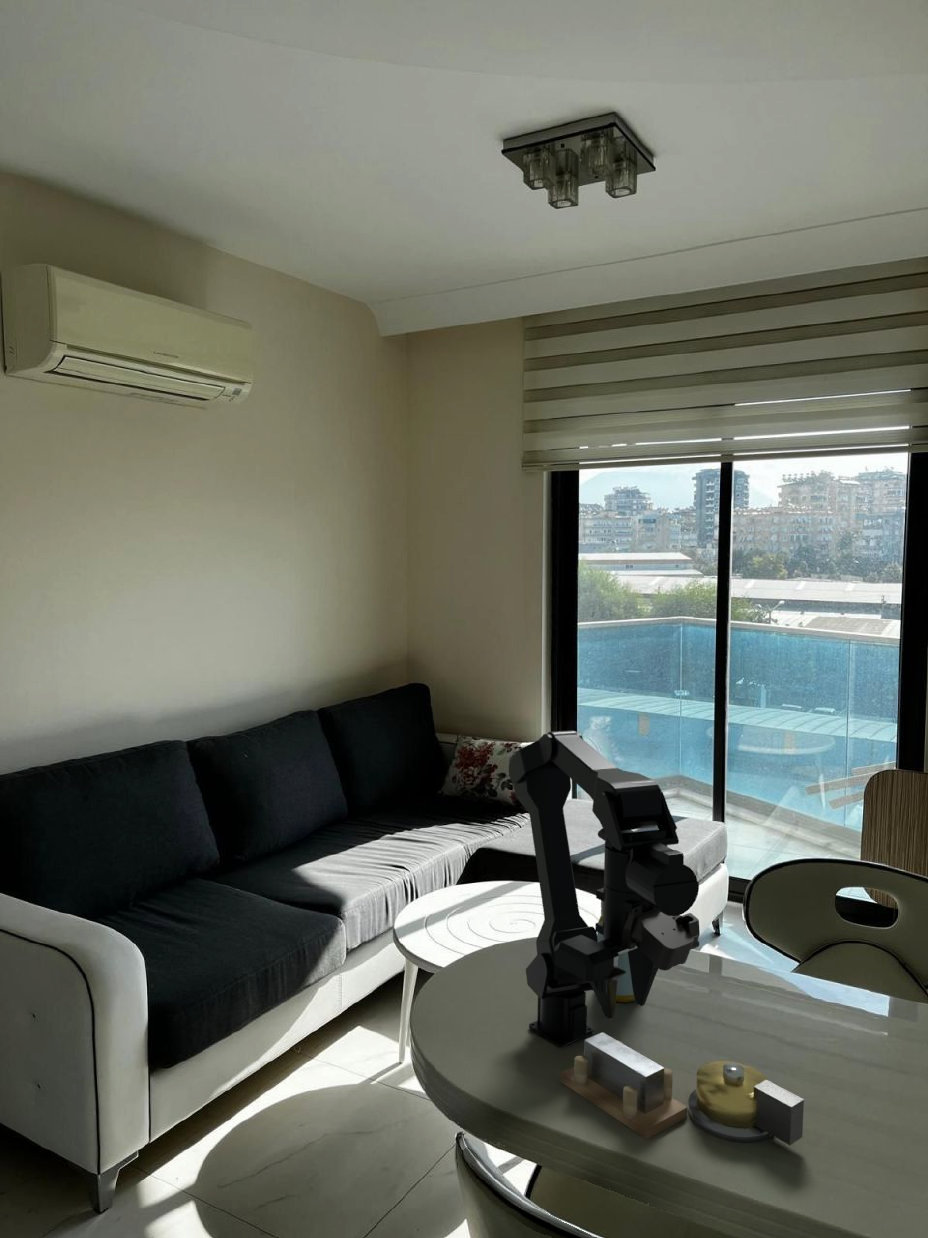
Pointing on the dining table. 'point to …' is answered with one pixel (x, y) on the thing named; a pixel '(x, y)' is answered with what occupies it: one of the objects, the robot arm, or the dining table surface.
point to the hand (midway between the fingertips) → (624, 1011)
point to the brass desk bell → (723, 1131)
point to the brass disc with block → (749, 1102)
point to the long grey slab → (624, 1071)
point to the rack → (626, 1101)
